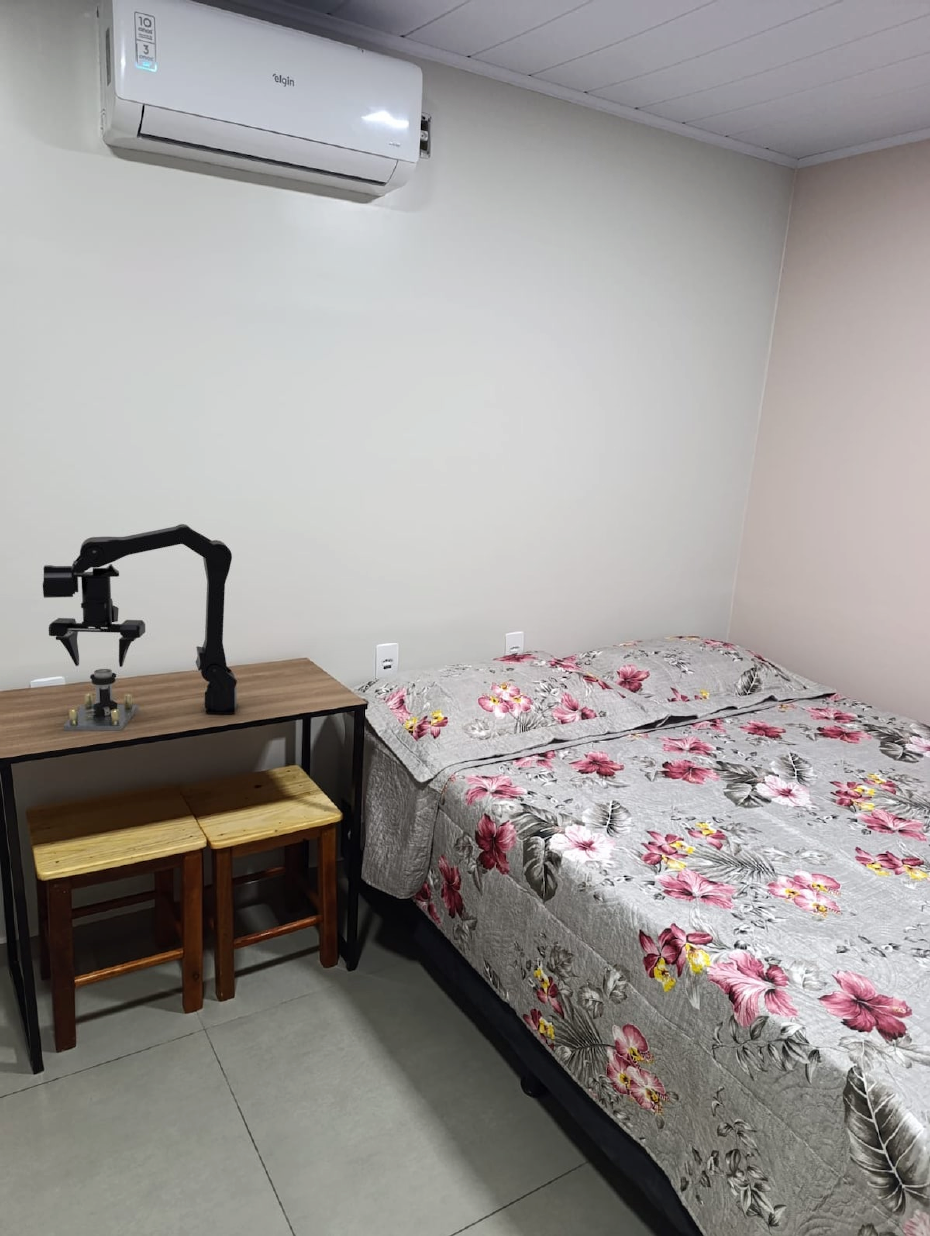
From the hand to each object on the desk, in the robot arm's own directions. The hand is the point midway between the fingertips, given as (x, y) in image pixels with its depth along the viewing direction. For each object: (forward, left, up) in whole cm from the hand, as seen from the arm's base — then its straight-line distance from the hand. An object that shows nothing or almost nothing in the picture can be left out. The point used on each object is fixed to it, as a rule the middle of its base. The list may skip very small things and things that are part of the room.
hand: (99, 665), depth 188 cm
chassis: (0, 0, -12) cm, 12 cm away
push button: (0, 0, -12) cm, 12 cm away
